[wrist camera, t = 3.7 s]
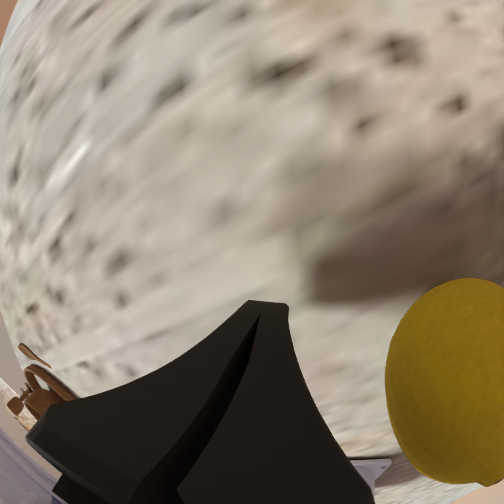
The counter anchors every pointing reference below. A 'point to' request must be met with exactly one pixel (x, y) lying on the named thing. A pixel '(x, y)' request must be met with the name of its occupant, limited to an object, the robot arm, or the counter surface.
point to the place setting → (38, 389)
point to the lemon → (450, 382)
